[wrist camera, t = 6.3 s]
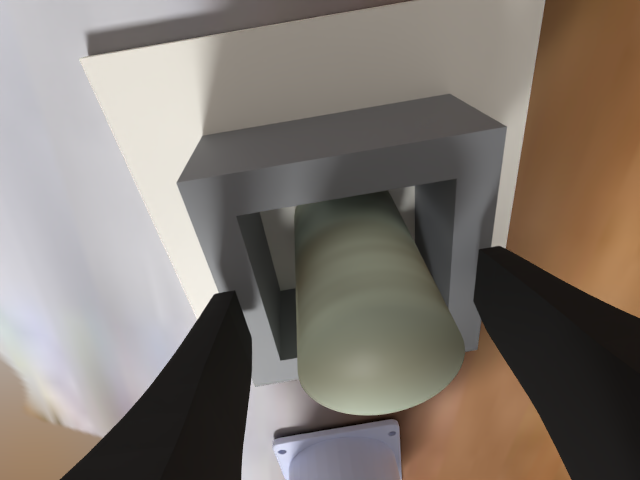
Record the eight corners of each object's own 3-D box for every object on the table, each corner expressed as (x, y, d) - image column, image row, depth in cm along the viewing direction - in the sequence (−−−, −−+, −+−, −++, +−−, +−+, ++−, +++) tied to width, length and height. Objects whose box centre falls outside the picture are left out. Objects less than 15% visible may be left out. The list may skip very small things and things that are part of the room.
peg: (396, 252, 16) (459, 402, 10) (303, 267, 16) (311, 425, 10) (393, 164, 14) (471, 290, 8) (285, 181, 14) (282, 319, 8)
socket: (489, 309, 19) (538, 383, 16) (218, 354, 19) (204, 439, 16) (537, -21, 12) (657, -29, 8) (87, 56, 12) (-2, 84, 8)
